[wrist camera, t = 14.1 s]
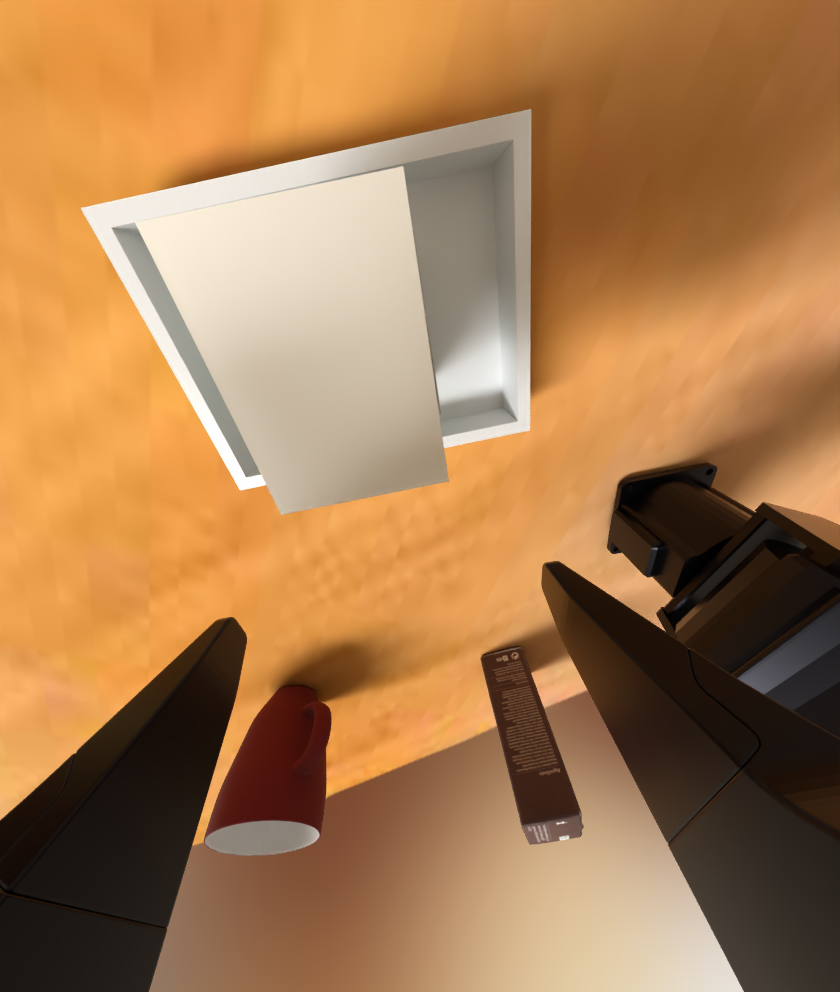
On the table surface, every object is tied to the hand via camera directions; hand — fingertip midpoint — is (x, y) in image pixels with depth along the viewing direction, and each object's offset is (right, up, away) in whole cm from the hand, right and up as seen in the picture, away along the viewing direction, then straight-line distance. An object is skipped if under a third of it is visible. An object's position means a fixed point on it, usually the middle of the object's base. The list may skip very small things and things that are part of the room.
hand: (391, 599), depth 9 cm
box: (+9, -14, +24) cm, 29 cm away
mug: (-11, -16, +22) cm, 29 cm away
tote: (-2, +11, +7) cm, 13 cm away
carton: (-2, +8, +2) cm, 8 cm away
